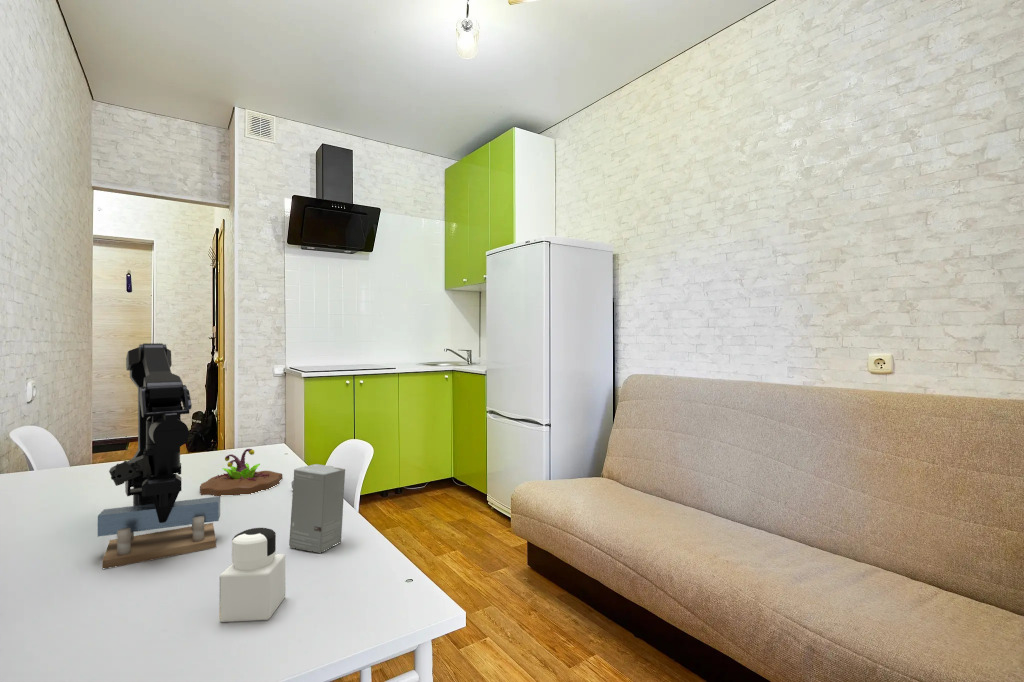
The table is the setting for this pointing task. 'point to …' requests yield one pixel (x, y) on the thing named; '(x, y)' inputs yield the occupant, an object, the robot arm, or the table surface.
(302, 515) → the skincare box
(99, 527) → the steel bar
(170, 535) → the peg rack
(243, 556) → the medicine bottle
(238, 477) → the plant
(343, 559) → the table surface
